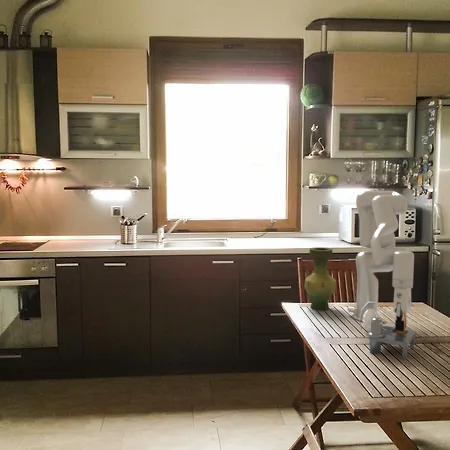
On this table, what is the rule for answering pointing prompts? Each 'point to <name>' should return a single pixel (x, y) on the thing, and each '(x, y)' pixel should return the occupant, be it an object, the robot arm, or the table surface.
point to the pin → (404, 325)
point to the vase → (320, 280)
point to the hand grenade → (368, 315)
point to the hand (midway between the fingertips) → (400, 328)
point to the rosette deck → (388, 336)
